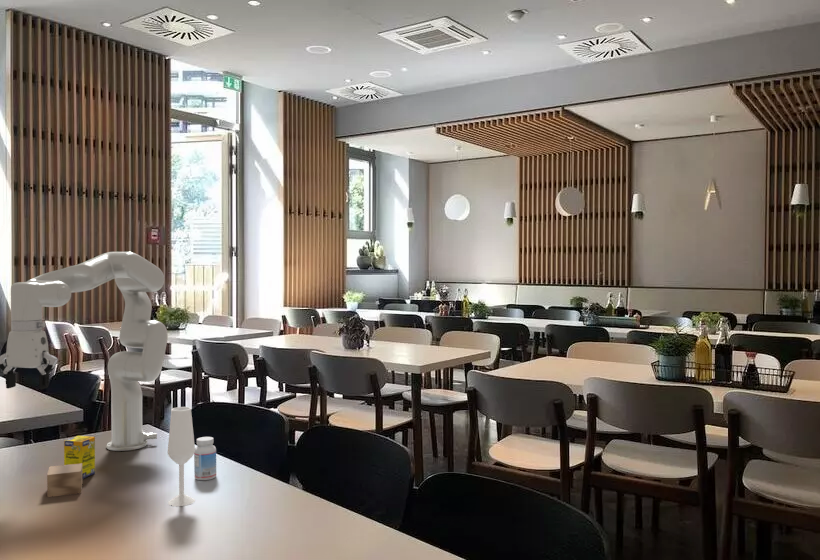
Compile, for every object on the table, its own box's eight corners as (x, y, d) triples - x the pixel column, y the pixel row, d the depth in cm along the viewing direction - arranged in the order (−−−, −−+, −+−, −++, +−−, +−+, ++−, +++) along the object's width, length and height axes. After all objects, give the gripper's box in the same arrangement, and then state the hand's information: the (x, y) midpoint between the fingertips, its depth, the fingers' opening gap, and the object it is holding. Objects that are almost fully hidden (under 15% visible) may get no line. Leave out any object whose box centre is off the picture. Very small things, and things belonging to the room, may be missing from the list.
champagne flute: (194, 495, 181) (194, 405, 181) (196, 504, 175) (195, 410, 175) (167, 498, 179) (166, 407, 178) (168, 507, 173) (167, 412, 172)
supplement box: (82, 480, 194) (81, 441, 194) (63, 478, 195) (63, 440, 195) (95, 473, 200) (95, 436, 200) (77, 472, 201) (77, 435, 201)
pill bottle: (219, 474, 200) (219, 436, 199) (211, 481, 193) (211, 441, 193) (199, 474, 200) (199, 435, 200) (190, 480, 194) (190, 441, 194)
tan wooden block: (82, 484, 191) (82, 463, 190) (81, 493, 183) (81, 471, 183) (50, 488, 187) (49, 466, 187) (47, 497, 180) (47, 474, 180)
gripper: (64, 325, 194) (64, 386, 195) (6, 325, 196) (7, 384, 196) (48, 328, 187) (48, 391, 187) (-13, 327, 188) (-12, 389, 189)
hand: (27, 387), depth 192 cm, fingers open, 9 cm apart
